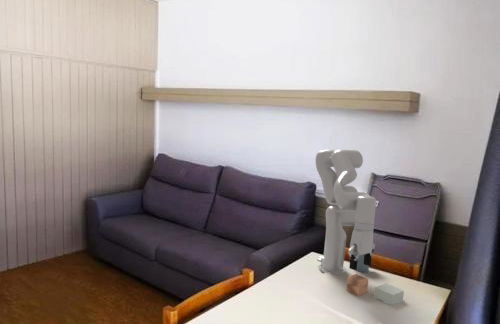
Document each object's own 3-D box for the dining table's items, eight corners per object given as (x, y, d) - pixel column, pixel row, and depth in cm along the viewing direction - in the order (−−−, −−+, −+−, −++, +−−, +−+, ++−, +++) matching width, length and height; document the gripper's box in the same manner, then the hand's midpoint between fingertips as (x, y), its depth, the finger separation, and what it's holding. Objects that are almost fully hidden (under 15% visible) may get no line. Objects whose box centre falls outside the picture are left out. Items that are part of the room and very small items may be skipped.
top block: (346, 290, 169) (347, 276, 168) (354, 287, 173) (356, 273, 172) (358, 296, 164) (359, 282, 164) (366, 292, 168) (368, 278, 167)
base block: (374, 296, 165) (375, 287, 164) (384, 292, 170) (386, 283, 169) (391, 304, 159) (393, 295, 158) (402, 299, 164) (403, 290, 163)
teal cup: (365, 265, 202) (368, 242, 201) (373, 274, 192) (376, 249, 191) (345, 265, 202) (348, 241, 200) (352, 273, 192) (355, 248, 190)
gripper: (368, 221, 173) (364, 260, 175) (343, 226, 162) (339, 268, 164) (384, 226, 168) (380, 266, 169) (359, 231, 156) (355, 274, 158)
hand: (360, 267), depth 166 cm, fingers open, 9 cm apart
